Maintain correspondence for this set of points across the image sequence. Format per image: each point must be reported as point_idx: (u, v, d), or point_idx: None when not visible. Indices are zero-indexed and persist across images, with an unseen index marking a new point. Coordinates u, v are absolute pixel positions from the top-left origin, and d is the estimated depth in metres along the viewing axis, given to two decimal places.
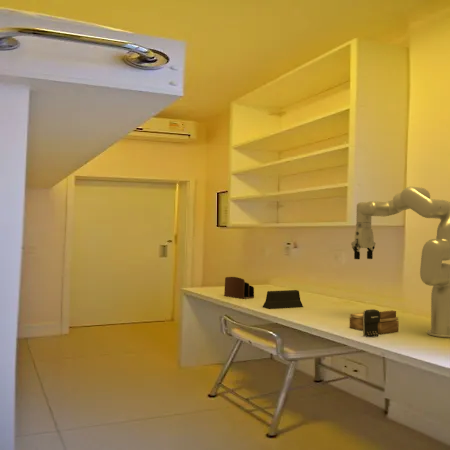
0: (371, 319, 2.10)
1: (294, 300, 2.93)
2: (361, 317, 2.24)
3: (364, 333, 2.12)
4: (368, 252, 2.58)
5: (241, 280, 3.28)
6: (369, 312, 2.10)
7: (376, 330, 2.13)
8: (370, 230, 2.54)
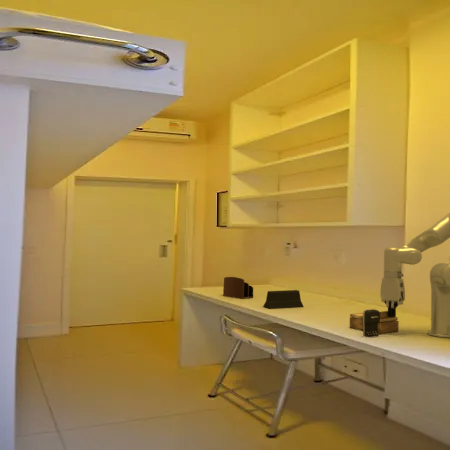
0: (371, 319, 2.10)
1: (294, 300, 2.93)
2: (361, 317, 2.25)
3: (364, 333, 2.12)
4: None
5: (241, 280, 3.28)
6: (369, 312, 2.10)
7: (376, 330, 2.13)
8: None
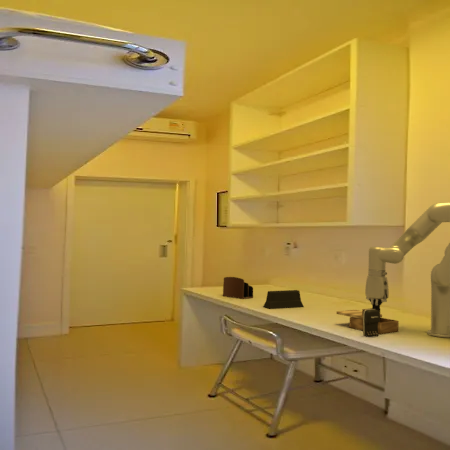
0: (371, 319, 2.10)
1: (294, 300, 2.93)
2: (346, 314, 2.32)
3: (364, 333, 2.12)
4: None
5: (240, 280, 3.27)
6: (369, 312, 2.10)
7: (376, 330, 2.13)
8: None
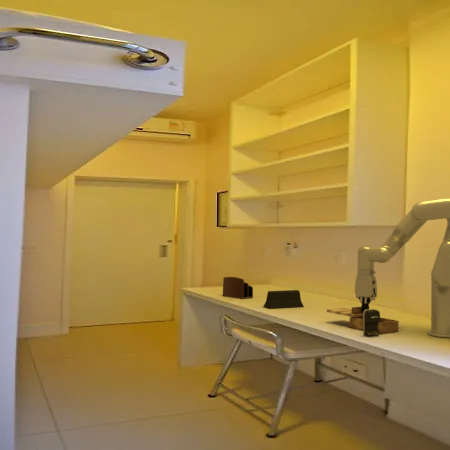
0: (371, 319, 2.10)
1: (294, 300, 2.93)
2: (336, 312, 2.37)
3: (364, 333, 2.12)
4: None
5: (240, 280, 3.27)
6: (369, 312, 2.10)
7: (376, 330, 2.13)
8: None
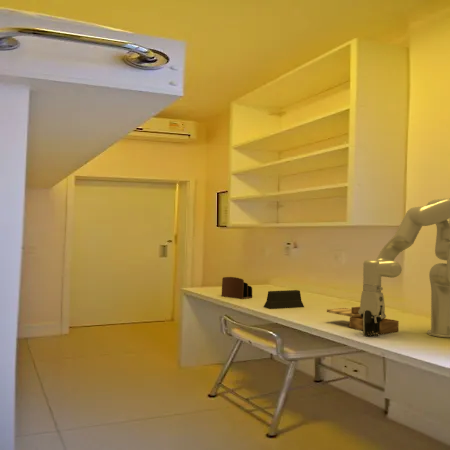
0: (371, 319, 2.10)
1: (295, 300, 2.93)
2: (336, 312, 2.37)
3: (364, 333, 2.12)
4: None
5: (240, 280, 3.27)
6: (369, 312, 2.10)
7: None
8: None
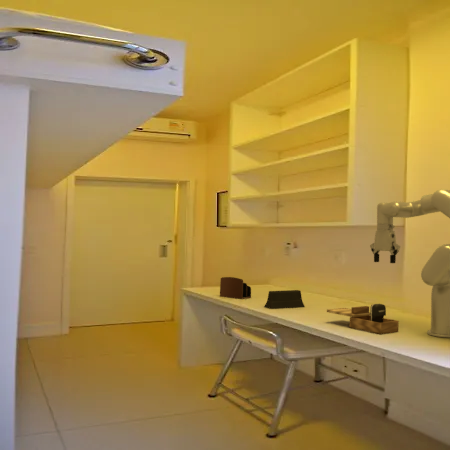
0: (379, 313, 2.22)
1: (295, 300, 2.93)
2: (336, 312, 2.37)
3: None
4: (376, 255, 2.45)
5: (239, 280, 3.27)
6: (377, 306, 2.22)
7: None
8: None
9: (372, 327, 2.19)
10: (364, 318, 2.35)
